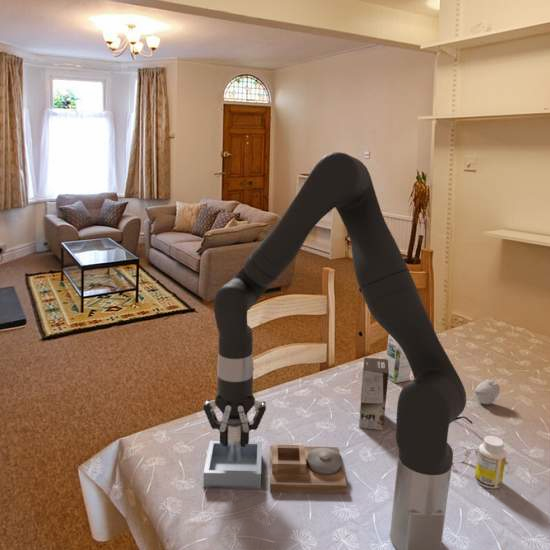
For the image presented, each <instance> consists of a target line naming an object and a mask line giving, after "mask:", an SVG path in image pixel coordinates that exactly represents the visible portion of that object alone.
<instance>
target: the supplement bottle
mask: <svg viewBox="0 0 550 550" xmlns="http://www.w3.org/2000/svg"><path fill="white" fill-rule="evenodd" d="M504 445H505V443H504V440H502V439H501V438H500V437H497V436H493V435H488V436H487V435H486V437H485V436H484V438H483V443H480V445H479V446H478V448H479V451H478V456H477V459H476V460H477V461H476V466H475V473H474V474H475V475H474V478H475V481H476V482H477V483H478V484H479V485H481V486H482V487H483V488H487V489H495V490H496V489H499V488H500V487H502V484H503V479H504V472H505V465H506V459H507V451H506V449H505V448H504Z"/></svg>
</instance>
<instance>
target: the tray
mask: <svg viewBox="0 0 550 550" xmlns="http://www.w3.org/2000/svg"><path fill="white" fill-rule="evenodd" d="M262 446H263V441H249V443H248V444H246V446H245V447H243V455H242V459H241V460H240V461H237V462H231V461H228V460H227V459H226V447H223V444H221V443H220V440H209V444H208V448H207V454H206V458H205V464H204V469H203V488H204V489H206V488H207V489H240V490H242V489H247V490H249V489H251V490H252V489H253V490H256V489H257V490H261V488H262V487H261V485H262V484H261V483H262V454H263V453H262Z"/></svg>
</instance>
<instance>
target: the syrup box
mask: <svg viewBox="0 0 550 550" xmlns="http://www.w3.org/2000/svg"><path fill="white" fill-rule="evenodd" d="M385 359H387V360H388V368H389V374H388V380H390V381H392V382H393V383H394V384H399V383H402V382H406V381H410V378H411V367H410V365H409V362H408V360H407V358H406V356H405V354H404V352H403V350H402V348H401V347H400V345H399V344H398V343H397V342H396V341H395V340H394V338H393V337H392V336H391V335H390V334H389V333H388V338H387V349H386V358H385Z"/></svg>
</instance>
